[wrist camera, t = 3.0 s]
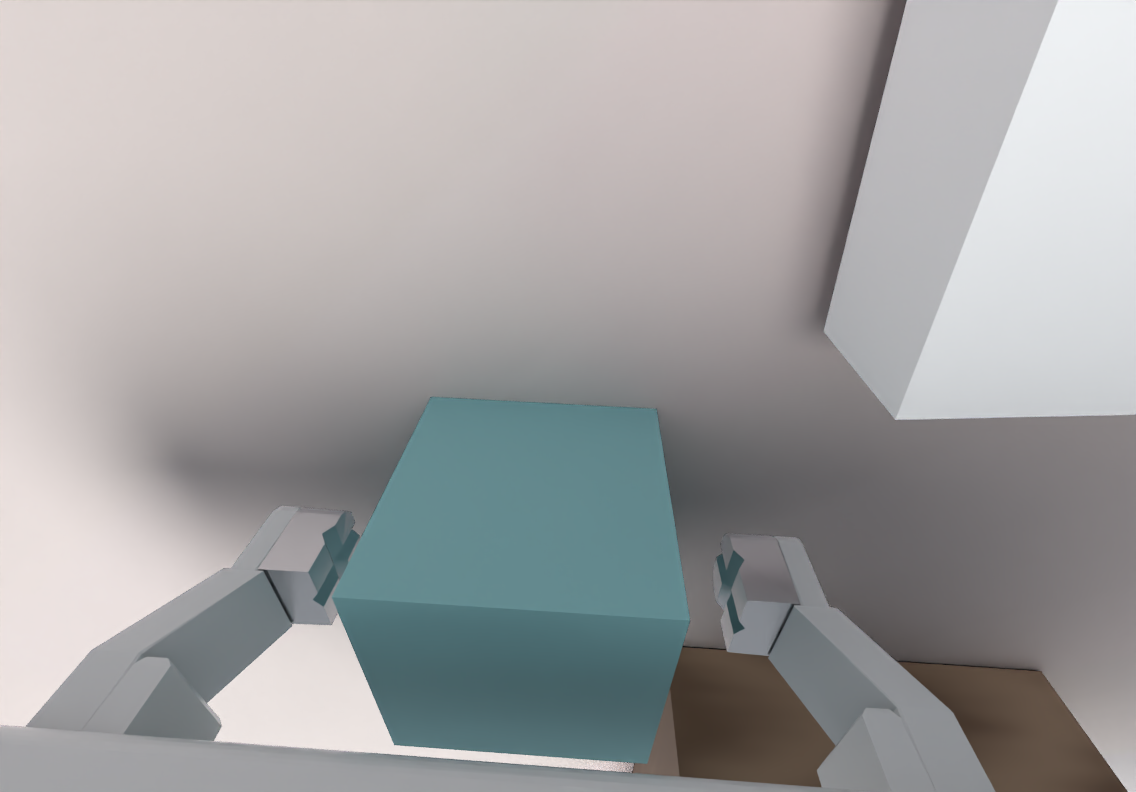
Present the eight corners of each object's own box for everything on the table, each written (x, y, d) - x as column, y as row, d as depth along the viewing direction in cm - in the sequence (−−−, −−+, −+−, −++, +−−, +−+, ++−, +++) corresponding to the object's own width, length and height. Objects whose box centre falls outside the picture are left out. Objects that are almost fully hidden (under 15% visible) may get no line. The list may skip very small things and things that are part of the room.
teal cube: (655, 406, 11) (689, 620, 7) (633, 551, 14) (646, 764, 10) (431, 394, 11) (331, 597, 7) (455, 540, 14) (394, 745, 10)
